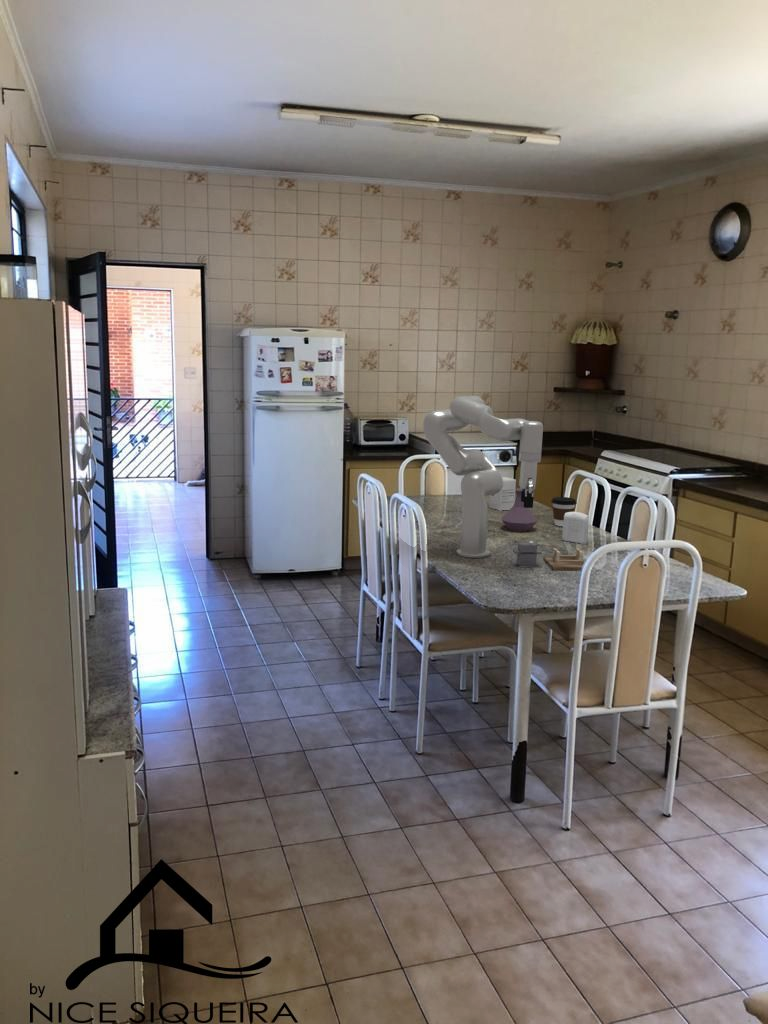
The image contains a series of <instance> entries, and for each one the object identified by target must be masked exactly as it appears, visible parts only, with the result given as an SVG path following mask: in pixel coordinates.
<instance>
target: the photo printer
mask: <svg viewBox="0 0 768 1024" xmlns="http://www.w3.org/2000/svg"><path fill="white" fill-rule="evenodd" d="M589 522H590V520H589V515H587V514H585V513H582V512H578V511H574V512H567V513H565V515H564V523H563V527H562V536H561V538H562V539H561V540H562V541H563V540H564V542H569V543H577V544H580V545H581V544H582V545H586V544H587V542H588V534H589Z"/></svg>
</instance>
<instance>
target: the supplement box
mask: <svg viewBox="0 0 768 1024" xmlns="http://www.w3.org/2000/svg"><path fill="white" fill-rule="evenodd" d="M502 479H503V487H502V489H501V490H500V491H499V492H498V493H496V494H492V495H489V505H488V508H489V507H491V508H494V509H497V510H500V511H499V512H502V511H501V510H509V509H511V508H512V507H513V505H514V503H515V500H516V490H515V489H517V487H516V485H517V479H515V478H512V477H506V476H502ZM491 508H490V509H491ZM494 509H493V510H494ZM497 510H496V511H497Z"/></svg>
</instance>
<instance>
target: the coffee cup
mask: <svg viewBox="0 0 768 1024" xmlns="http://www.w3.org/2000/svg"><path fill="white" fill-rule="evenodd" d="M550 503H552V514H553V521H554V526H556V525H558V526H563V523H564V515H565V513H567V512H575V505H576V504H577V501H576V499H575V498H573V497H566V496H556V497H555V496H554V497H553V498H552V499H551V501H550ZM558 526H557V527H558Z"/></svg>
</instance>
